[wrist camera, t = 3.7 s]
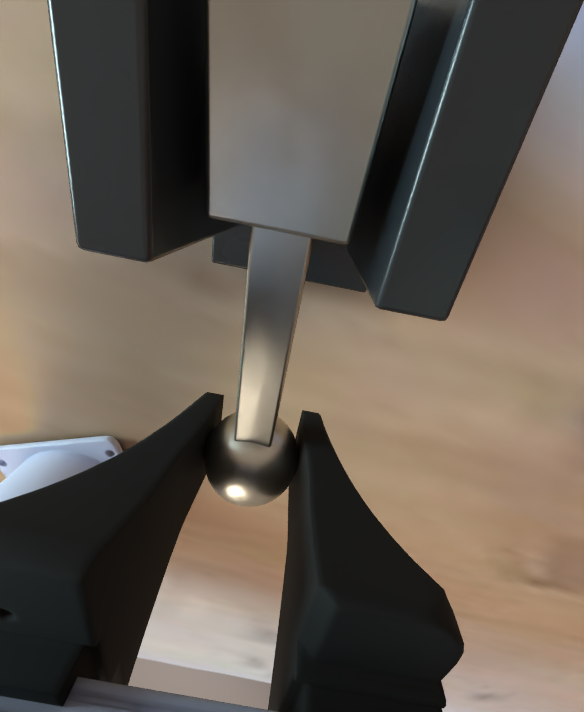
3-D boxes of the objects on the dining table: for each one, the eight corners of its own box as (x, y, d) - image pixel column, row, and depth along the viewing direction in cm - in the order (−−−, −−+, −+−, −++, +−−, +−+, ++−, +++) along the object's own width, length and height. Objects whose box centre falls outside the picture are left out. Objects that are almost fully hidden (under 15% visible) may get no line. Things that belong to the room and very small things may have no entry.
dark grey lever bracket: (362, 285, 13) (433, 434, 5) (219, 256, 13) (56, 362, 5) (434, 28, 10) (1093, -897, 1) (239, -14, 10) (-231, -1255, 1)
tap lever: (294, 451, 13) (285, 531, 10) (218, 437, 13) (192, 514, 10) (416, 21, 5) (482, -42, 3) (231, -17, 5) (143, -118, 3)
